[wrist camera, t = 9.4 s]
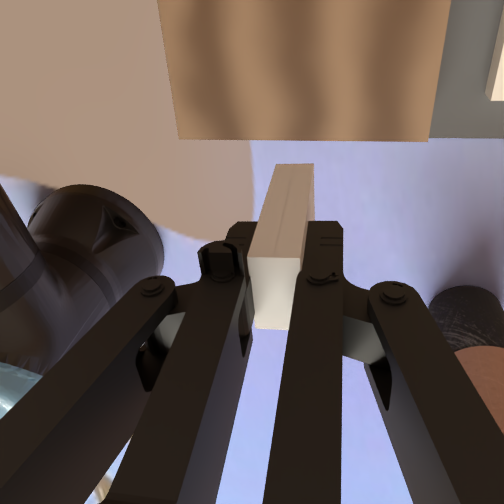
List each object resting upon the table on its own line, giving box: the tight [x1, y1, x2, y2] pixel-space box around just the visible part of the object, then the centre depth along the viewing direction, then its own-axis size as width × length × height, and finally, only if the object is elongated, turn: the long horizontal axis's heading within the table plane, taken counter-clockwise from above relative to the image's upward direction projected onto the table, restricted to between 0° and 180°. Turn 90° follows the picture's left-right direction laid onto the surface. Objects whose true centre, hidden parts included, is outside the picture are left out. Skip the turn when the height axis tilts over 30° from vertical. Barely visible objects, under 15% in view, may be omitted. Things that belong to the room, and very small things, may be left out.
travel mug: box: [428, 286, 504, 434], centre depth 39 cm, size 8×8×20 cm
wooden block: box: [157, 0, 451, 142], centre depth 34 cm, size 20×14×4 cm
